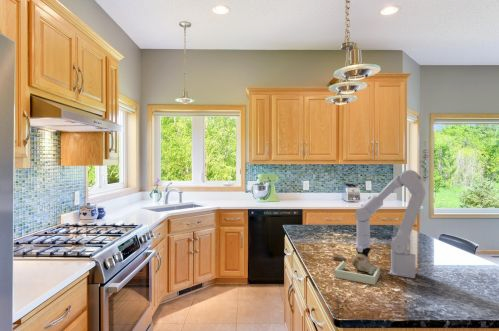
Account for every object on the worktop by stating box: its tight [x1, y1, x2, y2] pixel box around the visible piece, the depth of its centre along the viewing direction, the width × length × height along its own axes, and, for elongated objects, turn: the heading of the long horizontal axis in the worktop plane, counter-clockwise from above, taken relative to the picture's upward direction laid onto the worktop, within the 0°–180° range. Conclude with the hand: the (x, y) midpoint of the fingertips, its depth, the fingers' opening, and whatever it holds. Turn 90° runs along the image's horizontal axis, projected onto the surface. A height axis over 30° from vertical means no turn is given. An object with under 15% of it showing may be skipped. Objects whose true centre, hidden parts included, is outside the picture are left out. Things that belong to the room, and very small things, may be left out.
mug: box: [351, 253, 377, 276], centre depth 128 cm, size 8×10×10 cm
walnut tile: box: [332, 253, 345, 262], centre depth 145 cm, size 5×5×2 cm
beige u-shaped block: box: [333, 260, 381, 286], centre depth 124 cm, size 16×13×3 cm
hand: (363, 264), depth 134 cm, fingers closed
